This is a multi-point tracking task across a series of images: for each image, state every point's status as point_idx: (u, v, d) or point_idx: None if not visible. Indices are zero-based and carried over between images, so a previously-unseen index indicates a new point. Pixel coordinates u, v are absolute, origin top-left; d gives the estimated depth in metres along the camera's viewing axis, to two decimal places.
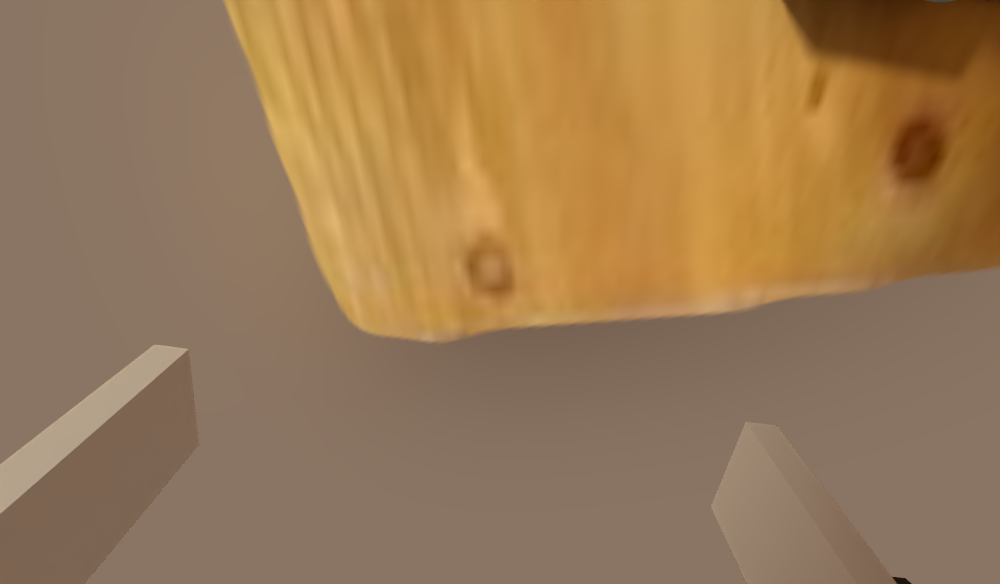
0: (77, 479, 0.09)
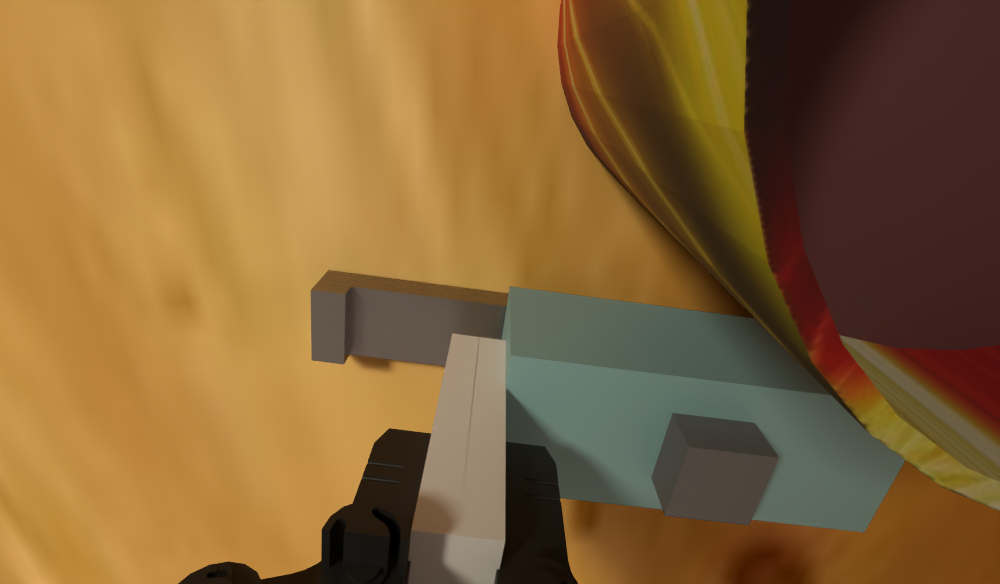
0: None
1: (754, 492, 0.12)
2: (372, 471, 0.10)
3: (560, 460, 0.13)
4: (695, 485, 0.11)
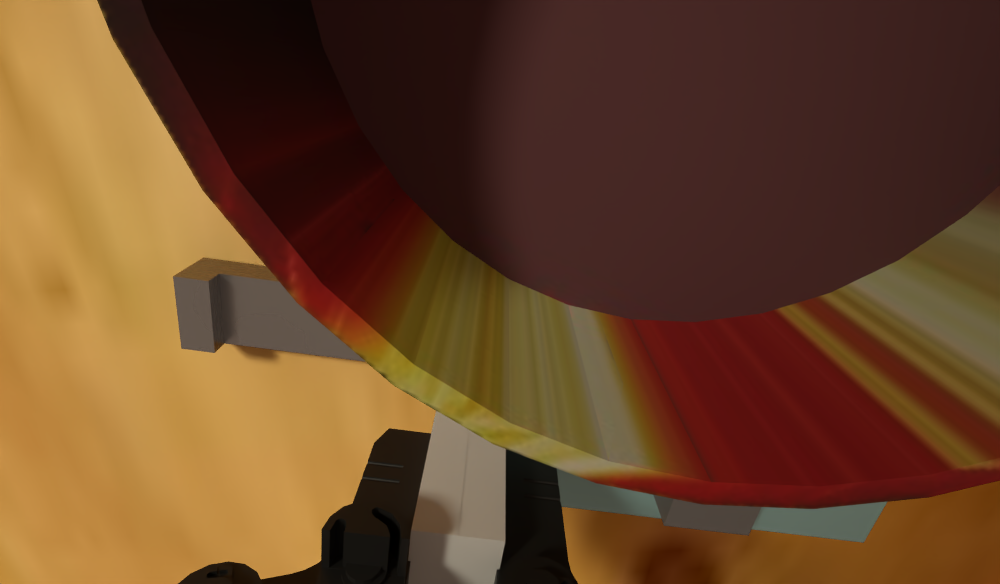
0: None
1: None
2: (372, 471, 0.10)
3: None
4: None
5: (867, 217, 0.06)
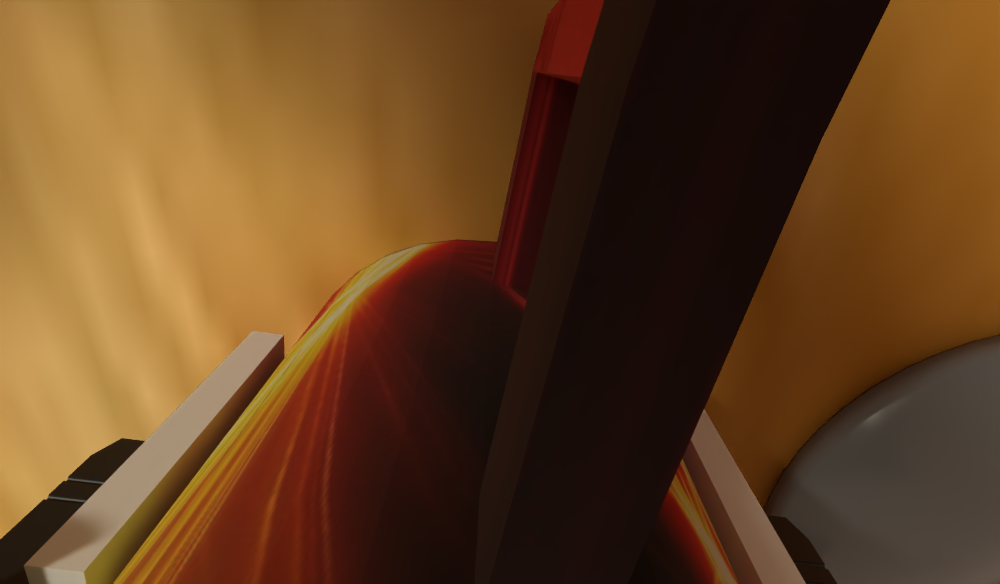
0: (213, 446, 0.10)
1: None
2: (65, 489, 0.09)
3: None
4: None
5: None
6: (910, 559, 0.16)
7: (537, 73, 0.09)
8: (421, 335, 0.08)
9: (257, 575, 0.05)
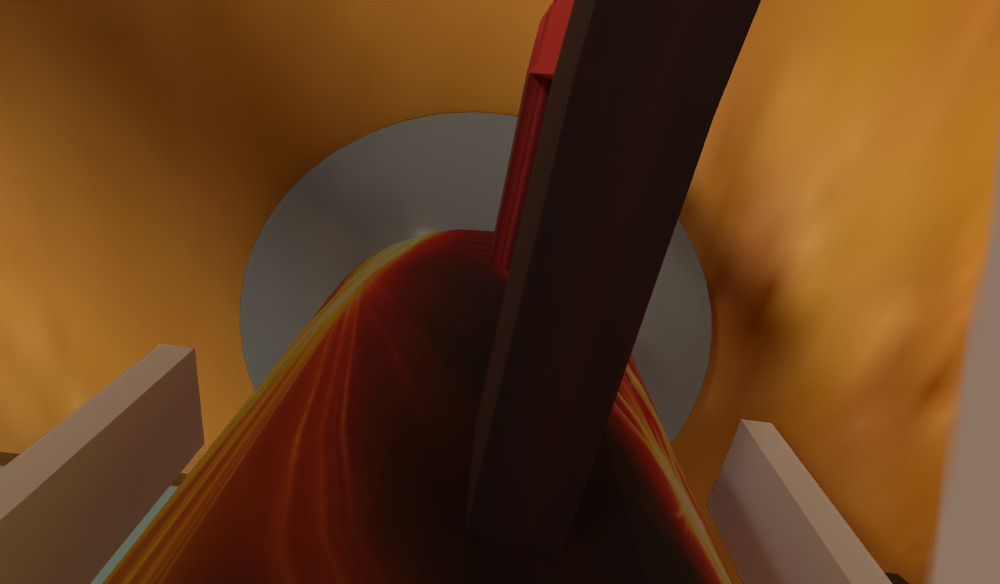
0: (86, 477, 0.09)
1: None
2: None
3: None
4: None
5: None
6: None
7: (530, 74, 0.10)
8: (424, 308, 0.09)
9: (289, 486, 0.05)
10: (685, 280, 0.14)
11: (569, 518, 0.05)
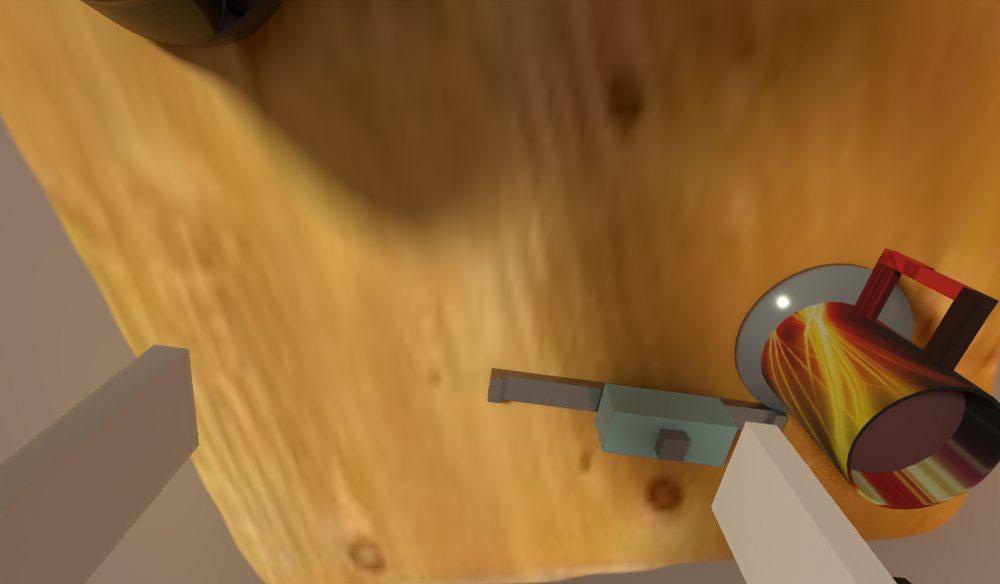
0: (77, 480, 0.09)
1: (684, 451, 0.40)
2: None
3: (626, 442, 0.41)
4: (666, 449, 0.40)
5: (910, 457, 0.36)
6: None
7: (891, 268, 0.37)
8: (870, 331, 0.37)
9: (899, 363, 0.33)
10: (905, 318, 0.42)
11: (955, 365, 0.32)
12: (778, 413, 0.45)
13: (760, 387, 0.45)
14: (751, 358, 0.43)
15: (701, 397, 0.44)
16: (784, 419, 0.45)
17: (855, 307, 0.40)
